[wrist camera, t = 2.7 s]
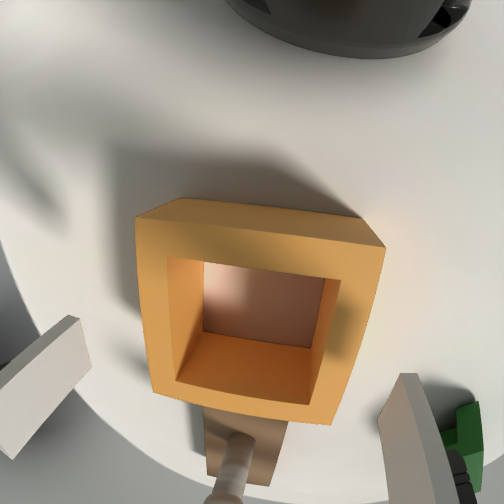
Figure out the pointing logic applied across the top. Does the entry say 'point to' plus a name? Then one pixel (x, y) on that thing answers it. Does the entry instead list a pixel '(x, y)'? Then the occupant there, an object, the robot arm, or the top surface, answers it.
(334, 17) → the robot arm
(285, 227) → the orange hollow square frame
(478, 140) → the top surface
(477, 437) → the clamp
